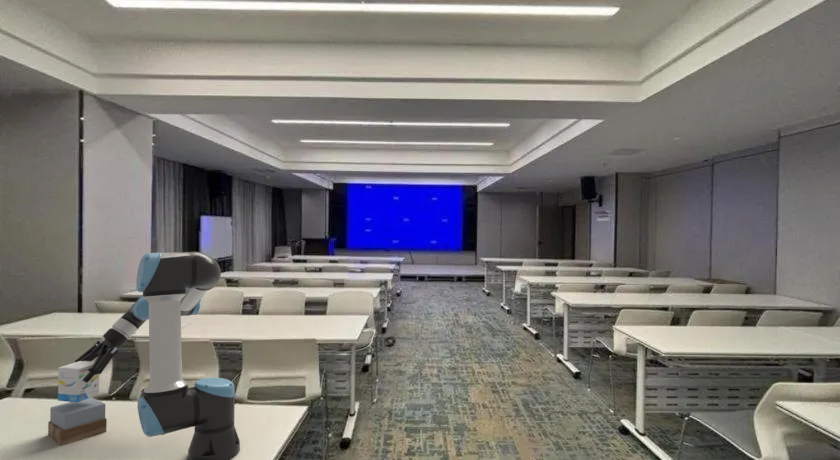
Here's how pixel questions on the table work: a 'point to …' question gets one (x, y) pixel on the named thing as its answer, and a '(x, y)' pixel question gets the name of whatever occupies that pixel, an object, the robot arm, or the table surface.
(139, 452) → the table surface
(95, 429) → the walnut base slab
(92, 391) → the ink box
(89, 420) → the grey top slab
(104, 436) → the table surface
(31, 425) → the table surface
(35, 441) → the table surface
